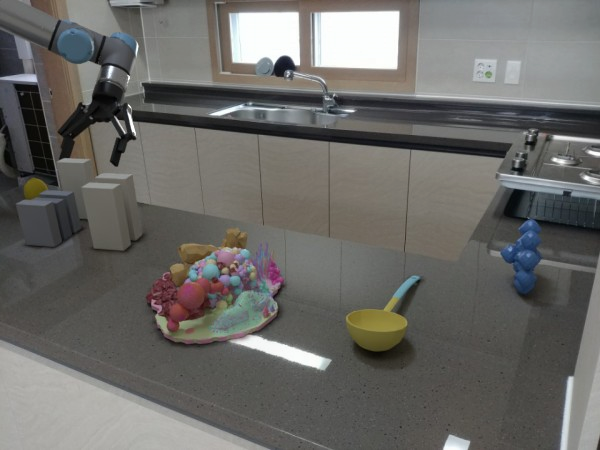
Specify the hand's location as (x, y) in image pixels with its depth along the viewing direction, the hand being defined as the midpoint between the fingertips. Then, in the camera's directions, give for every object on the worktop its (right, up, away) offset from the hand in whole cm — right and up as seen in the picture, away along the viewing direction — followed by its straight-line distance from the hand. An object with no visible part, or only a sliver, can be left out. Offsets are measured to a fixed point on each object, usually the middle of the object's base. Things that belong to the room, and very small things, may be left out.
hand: (88, 163), depth 129 cm
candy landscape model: (+37, -28, -36) cm, 59 cm away
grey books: (-3, -17, -10) cm, 20 cm away
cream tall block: (-1, -13, 0) cm, 13 cm away
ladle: (+66, -29, -43) cm, 84 cm away
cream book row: (+12, -18, -14) cm, 26 cm away
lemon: (-15, -11, +6) cm, 19 cm away
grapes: (+89, -26, -36) cm, 99 cm away
